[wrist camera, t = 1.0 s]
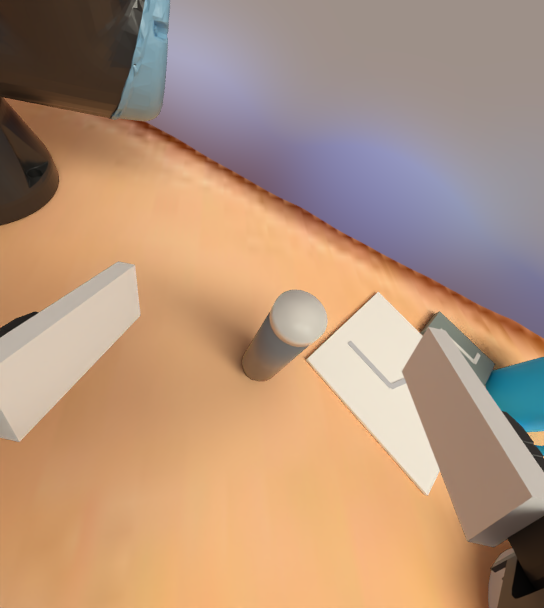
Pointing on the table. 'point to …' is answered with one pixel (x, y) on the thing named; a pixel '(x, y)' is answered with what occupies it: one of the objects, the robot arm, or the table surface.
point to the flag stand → (497, 581)
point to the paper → (379, 384)
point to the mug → (521, 393)
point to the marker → (284, 334)
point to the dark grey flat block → (463, 346)
